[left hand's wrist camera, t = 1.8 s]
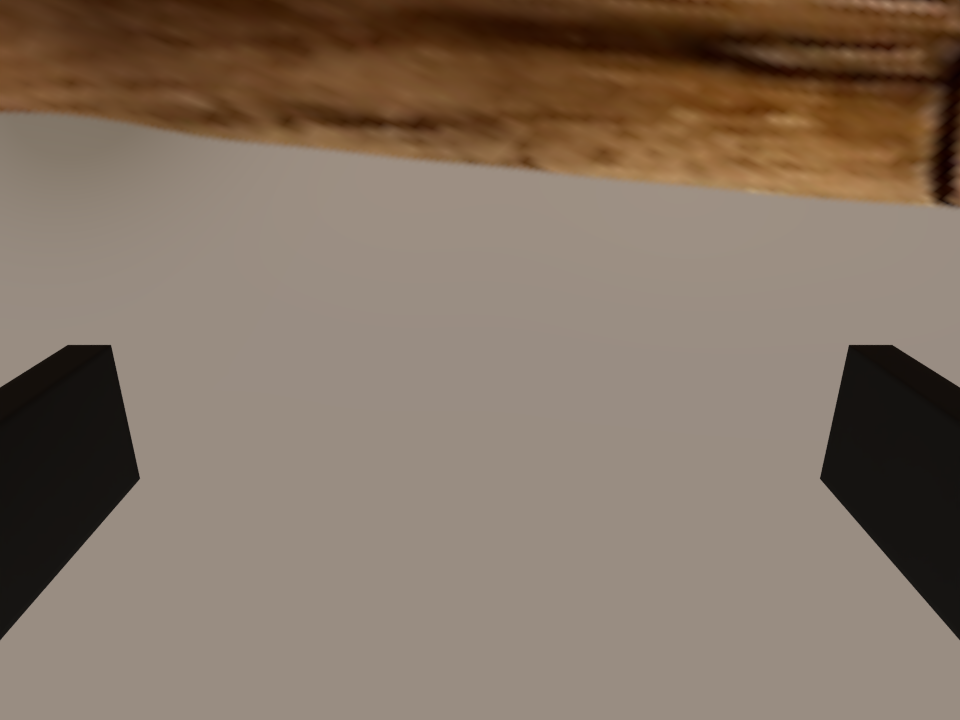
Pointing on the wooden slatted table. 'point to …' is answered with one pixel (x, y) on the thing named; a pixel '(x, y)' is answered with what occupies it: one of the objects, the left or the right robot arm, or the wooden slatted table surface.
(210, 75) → the wooden slatted table surface
